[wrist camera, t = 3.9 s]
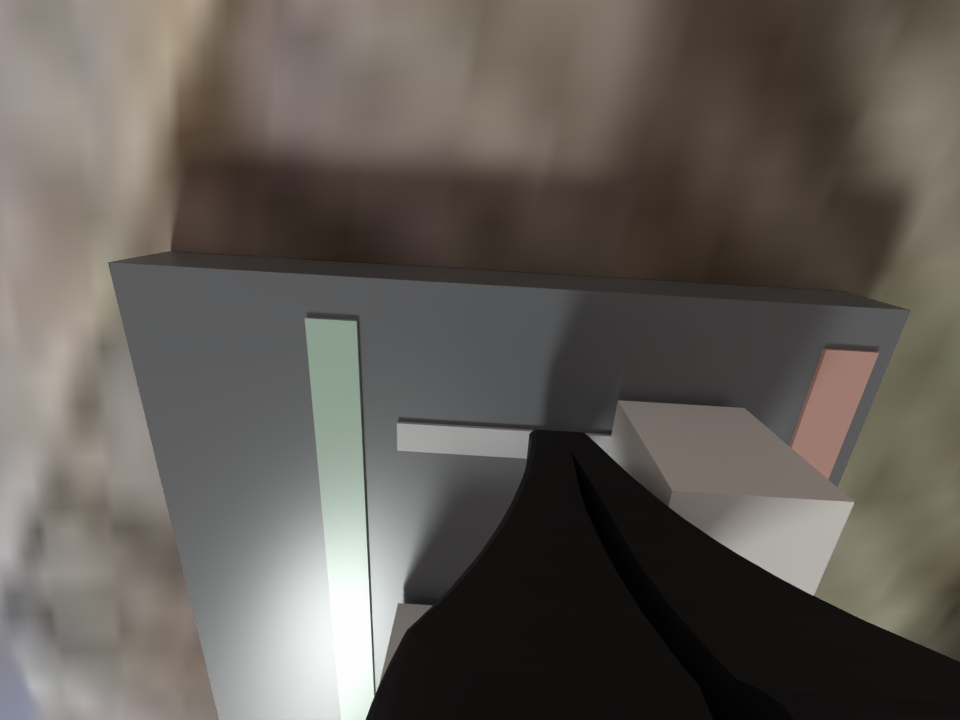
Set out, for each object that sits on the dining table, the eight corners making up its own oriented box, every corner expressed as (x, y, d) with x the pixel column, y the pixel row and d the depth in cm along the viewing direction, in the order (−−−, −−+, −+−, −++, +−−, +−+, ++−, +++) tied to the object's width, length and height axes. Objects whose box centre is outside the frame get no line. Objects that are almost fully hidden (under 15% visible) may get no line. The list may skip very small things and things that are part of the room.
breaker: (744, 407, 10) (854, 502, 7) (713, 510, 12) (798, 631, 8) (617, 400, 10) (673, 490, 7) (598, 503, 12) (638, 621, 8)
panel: (843, 291, 12) (914, 311, 10) (670, 782, 20) (690, 848, 18) (168, 251, 12) (104, 263, 10) (266, 755, 20) (240, 818, 18)
